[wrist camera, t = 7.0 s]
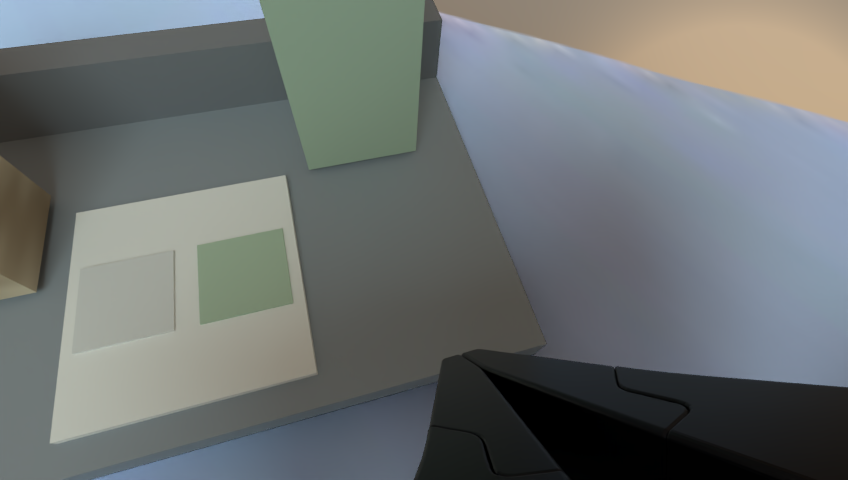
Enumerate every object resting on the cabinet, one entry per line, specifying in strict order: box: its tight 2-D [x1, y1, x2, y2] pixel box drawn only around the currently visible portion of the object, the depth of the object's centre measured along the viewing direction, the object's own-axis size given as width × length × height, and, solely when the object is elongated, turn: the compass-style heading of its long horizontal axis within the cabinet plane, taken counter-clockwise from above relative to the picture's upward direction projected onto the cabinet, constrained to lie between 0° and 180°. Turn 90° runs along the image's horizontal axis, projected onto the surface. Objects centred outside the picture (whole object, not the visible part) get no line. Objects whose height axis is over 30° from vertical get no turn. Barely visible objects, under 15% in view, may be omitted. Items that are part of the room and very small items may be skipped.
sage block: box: [260, 0, 425, 170], centre depth 15 cm, size 4×5×9 cm
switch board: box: [0, 0, 547, 480], centre depth 15 cm, size 15×23×4 cm, turn 106°
